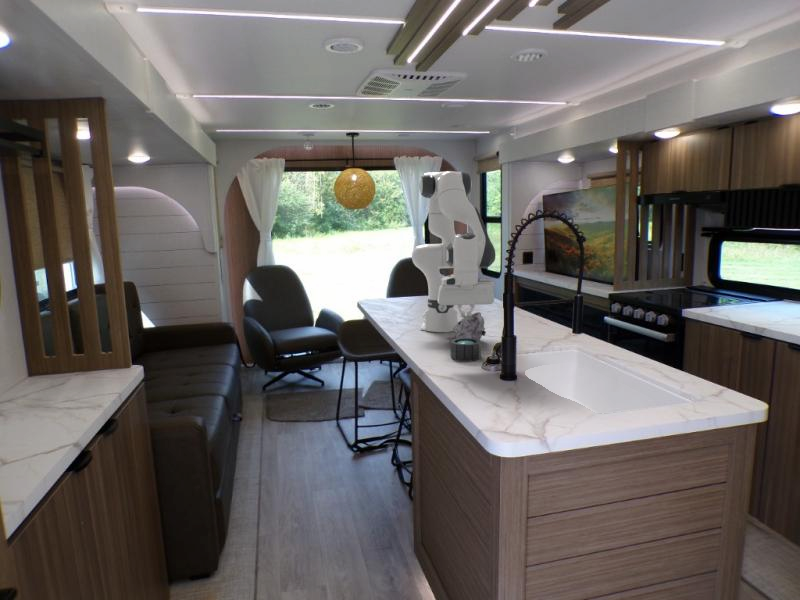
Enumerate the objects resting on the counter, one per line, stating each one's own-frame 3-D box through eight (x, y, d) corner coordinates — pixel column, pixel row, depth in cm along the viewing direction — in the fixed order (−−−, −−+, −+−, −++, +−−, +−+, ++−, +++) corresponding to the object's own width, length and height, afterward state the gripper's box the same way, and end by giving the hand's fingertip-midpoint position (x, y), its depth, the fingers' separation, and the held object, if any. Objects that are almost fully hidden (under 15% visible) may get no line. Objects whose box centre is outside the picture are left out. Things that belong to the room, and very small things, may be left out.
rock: (479, 354, 210) (494, 319, 209) (456, 345, 208) (471, 310, 207) (465, 342, 232) (478, 310, 231) (444, 334, 230) (457, 302, 229)
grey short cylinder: (448, 353, 202) (448, 338, 201) (477, 353, 203) (477, 337, 202) (453, 361, 191) (452, 345, 190) (483, 360, 192) (483, 344, 191)
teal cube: (456, 354, 200) (456, 341, 199) (472, 353, 200) (472, 340, 199) (458, 358, 194) (458, 344, 193) (475, 357, 194) (475, 344, 193)
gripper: (492, 277, 196) (492, 314, 198) (436, 278, 195) (437, 315, 197) (496, 279, 190) (496, 317, 192) (439, 280, 189) (439, 319, 191)
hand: (465, 316), depth 195 cm, fingers closed
